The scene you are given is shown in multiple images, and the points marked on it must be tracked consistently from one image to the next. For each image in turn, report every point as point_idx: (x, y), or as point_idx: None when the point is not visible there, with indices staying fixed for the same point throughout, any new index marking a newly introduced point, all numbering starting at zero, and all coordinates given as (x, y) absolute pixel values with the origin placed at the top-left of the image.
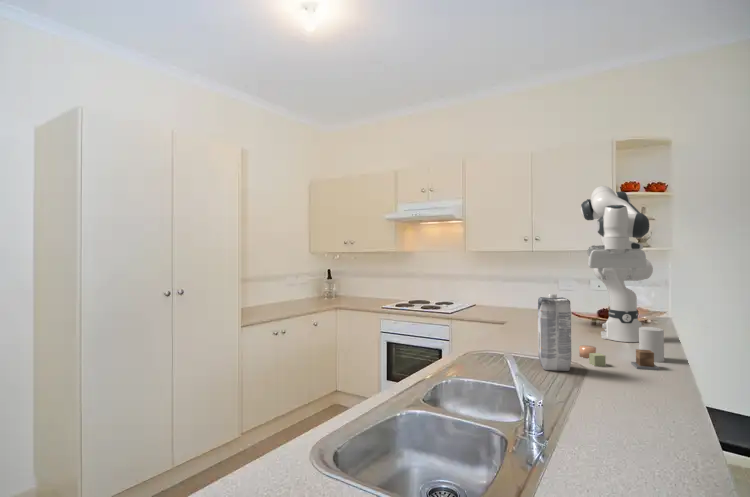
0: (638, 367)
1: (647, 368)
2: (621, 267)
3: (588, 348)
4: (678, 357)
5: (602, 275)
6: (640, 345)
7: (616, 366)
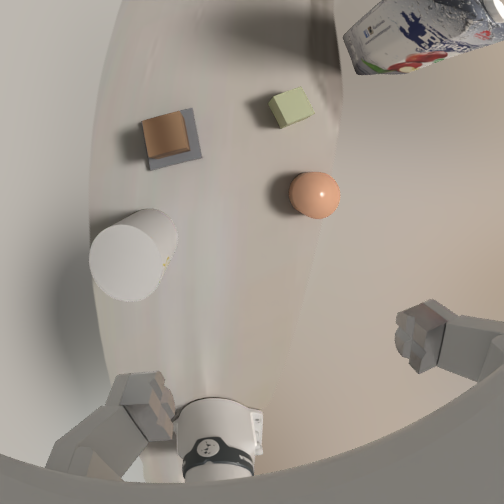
0: (189, 108)
1: None
2: (259, 484)
3: (317, 174)
4: (96, 290)
5: (454, 316)
6: (168, 233)
7: (241, 111)
